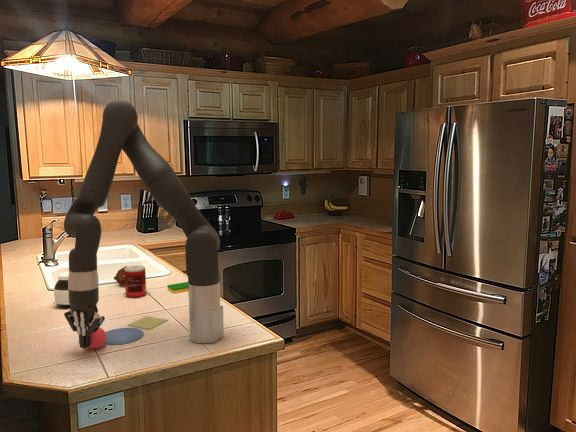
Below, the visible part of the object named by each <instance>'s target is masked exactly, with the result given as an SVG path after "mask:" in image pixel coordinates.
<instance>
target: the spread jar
mask: <svg viewBox="0 0 576 432" xmlns="http://www.w3.org/2000/svg"><path fill="white" fill-rule="evenodd" d="M68 276H69V271H66V272H65V271H64V272H60V273H59V274H57V279H58V280H57V281H56V283H55V284H54V290H53V297H54V303H55V305H56V306H58V307H60V308H61V309H70V307H71V305H70V304H69V293H68Z"/></svg>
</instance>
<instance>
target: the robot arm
mask: <svg viewBox="0 0 576 432" xmlns="http://www.w3.org/2000/svg"><path fill="white" fill-rule="evenodd" d="M138 117H139V116H138V112H137V110H136V108H135V106H133V104H132V103H130V102H129V101H127V100H123V99H115V100H112V101H110V102H109V103H107V105H106V106H105V107H104V109H103V111H102V121H101V129H100V133H99V138H98V141H97V144H96V148H95V150H94V153H93V156H92V158H91V160H90V163H89V165H88V167H87V171H86V174H85V177H84V178H83V181H82V184H81V187H80V189H79V193H78V195H77V197H76V198H75V200H74V201H73V203H72V204H71V206H70V208H69V209H68V211H67V212H66V215H65V217H64V221H63V230H64V232H65V233H66V235H67V236H69V237H70V238H74V239H75V244H74V248H72V249H70V251H69V253H68V272H69V276H68V293H69V304H70V305H71V307H70V308H69V309H68V311H66V312H64V313H63V315H64V317H65V319H66V322H67V323H68V325H69V326H70V328H71V330H72V331H73V332H76V334H77V335H78V345H79V347H80V348H81V349H87V348H89V346H90V344H91V334H92V333H94V332H96V331H97V330H98V328H99V327H100V328H101V326H102V324H103V323H104V321H105V320H106V319H105V316H104V315H103V316H101V315H100V314H99V309H98V307H97V304H98V303H99V299H100V295H99V294H100V293H99V292H100V291H99V290H100V289H99V288H100V287H99V273H98V251H99V246H100V242H101V237H102V225H101V221H100V219H99V218H98V217H97V216H96V215H94V214H95V213H96V211H97V210H98V209H99V208H101V207H103V206H104V205H105V203H106V201H107V198H108V197H109V196H108V195H109V193H110V190H111V187H112V184H113V182H114V178H115V174H116V169H117V166H118V161H119V158H120V154H121V153H122V151H123V152H124V153H125V155H126V156H127V158H128V160H129V161H130V162H131V163H130V164H131V165H132V167H133V168H134V170H135V172H136V173H137V175H138V177H139V179H140V180H141V182H142V183H143V184H144V187H145V188H146V189H147V191H148V192H149V194H150V195H151V197H152V198H153V199H154V201H155V202H156V203H157V204H158V205H159V206H160V207H161V208H162V209H163V210H164V211H165V212H167V214H168V215H169V216H170V217H172V219H174V220H175V222H177V224H178V225H179V226H180V228H181V230H182V232H183V233H184V235H185V237H186V241H185V248H184V250H185V252H184V253H185V271H186V275H187V282H188V291H187V292H188V316H189V318H188V319H189V320H188V323H189V325H188V326H189V340H190V341H191V342H193V343H197V344H214V343H216V342H217V341H219V340H220V339H221V338H223V337H224V335H225V334H224V332H225V331H224V330H225V329H224V306H223V305H221V280H220V279H221V275H220V270H219V250H220V249H219V248H220V246H221V238H220V236H219V234H218V232H217V230H216V229H215V228H214V227H213V226H212V225H211V223H209V221H208V220H207V219H206V218H205V216H204V215H203V214H202V212H201V211H200V209H198V207H197V206H196V204H195V202H194V200H193V198H192V196H191V195H190V193H189V192H188V190H187V189H186V187H185V185H184V184H183V182H182V180H181V179H180V177H179V176H178V174H177V173H176V171H175V170H174V169H173V167H172V166H171V164H170V163H169V162H168V161H167V160H166V159H165V158H164V157H163V156H162V155H161V154H160V153H159V152H158V151H157V150H156V149H154V147H153V146H152V145H151V143H149V141H148V139H147V138H146V136H145V135H144V133H143V131H142V129H141V128H140V126H139V123H138V119H139V118H138Z"/></svg>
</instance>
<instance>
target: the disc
mask: <svg viewBox="0 0 576 432" xmlns="http://www.w3.org/2000/svg"><path fill="white" fill-rule="evenodd" d="M105 333H106V341H105V343H104V344H103V345H107V346H121V345H126V344H131V343H134V342H137V341H139V340H140V339H142V338H143V337H144V335H145V332H144V330H142V328H137V327H120V328H119V327H118V328H114V329H111V330H107V331H105Z"/></svg>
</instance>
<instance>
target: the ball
mask: <svg viewBox="0 0 576 432" xmlns="http://www.w3.org/2000/svg"><path fill="white" fill-rule="evenodd" d="M105 332H106V331H105V329H103V328H101V326H100V327H99V328H98V330H97V331H96V332H94V333H92V334H91V344H90V346H89V347H88V348H89V349H92V350H93V349H98V348H101V347H102V346H104V345H105V344H104V343H105V341H106V333H105Z"/></svg>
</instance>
